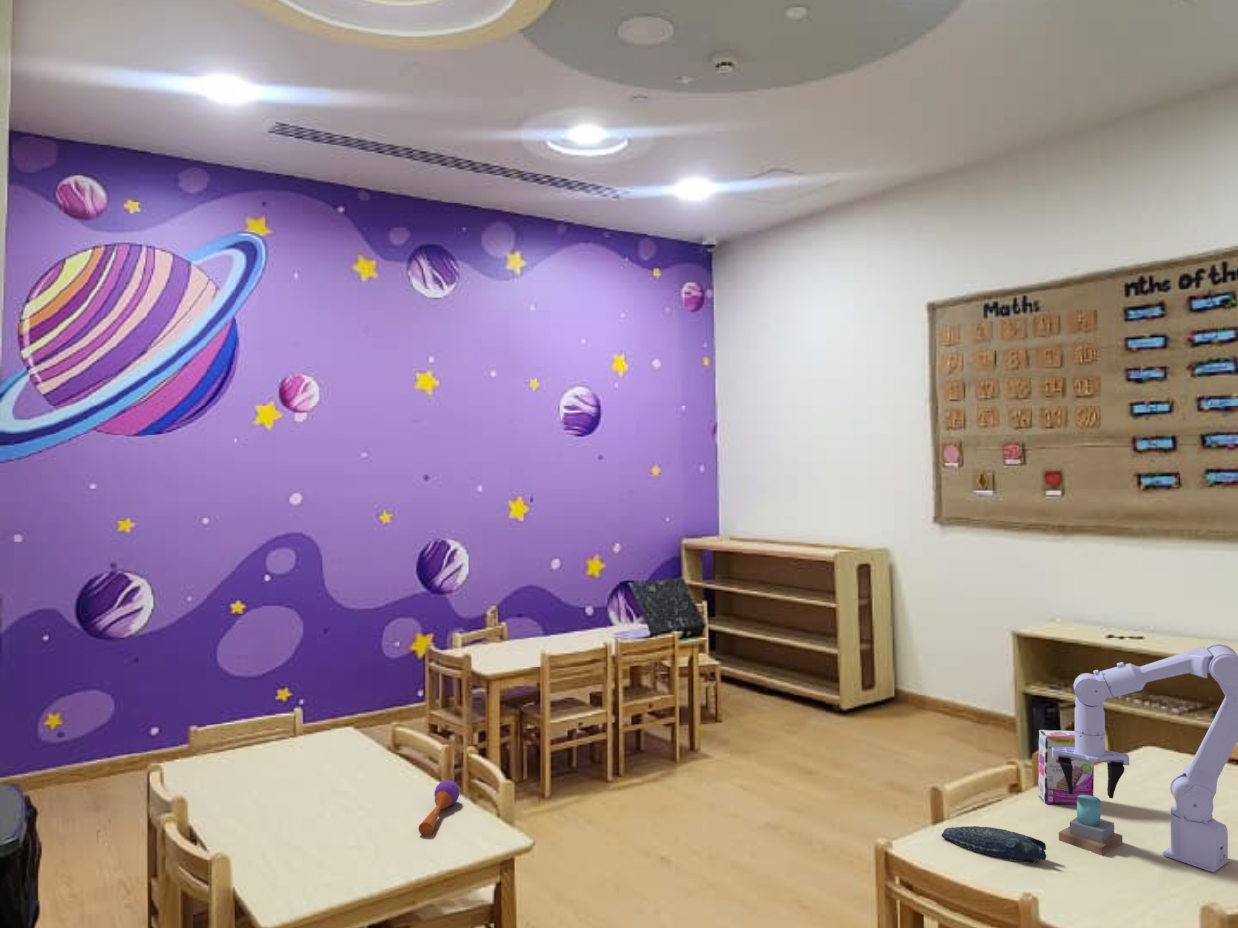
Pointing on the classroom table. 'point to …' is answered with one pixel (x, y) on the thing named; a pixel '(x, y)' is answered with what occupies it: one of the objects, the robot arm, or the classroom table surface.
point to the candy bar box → (1052, 775)
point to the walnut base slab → (1090, 842)
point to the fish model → (997, 842)
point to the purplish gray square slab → (1093, 830)
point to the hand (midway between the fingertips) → (1090, 794)
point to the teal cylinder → (1088, 810)
